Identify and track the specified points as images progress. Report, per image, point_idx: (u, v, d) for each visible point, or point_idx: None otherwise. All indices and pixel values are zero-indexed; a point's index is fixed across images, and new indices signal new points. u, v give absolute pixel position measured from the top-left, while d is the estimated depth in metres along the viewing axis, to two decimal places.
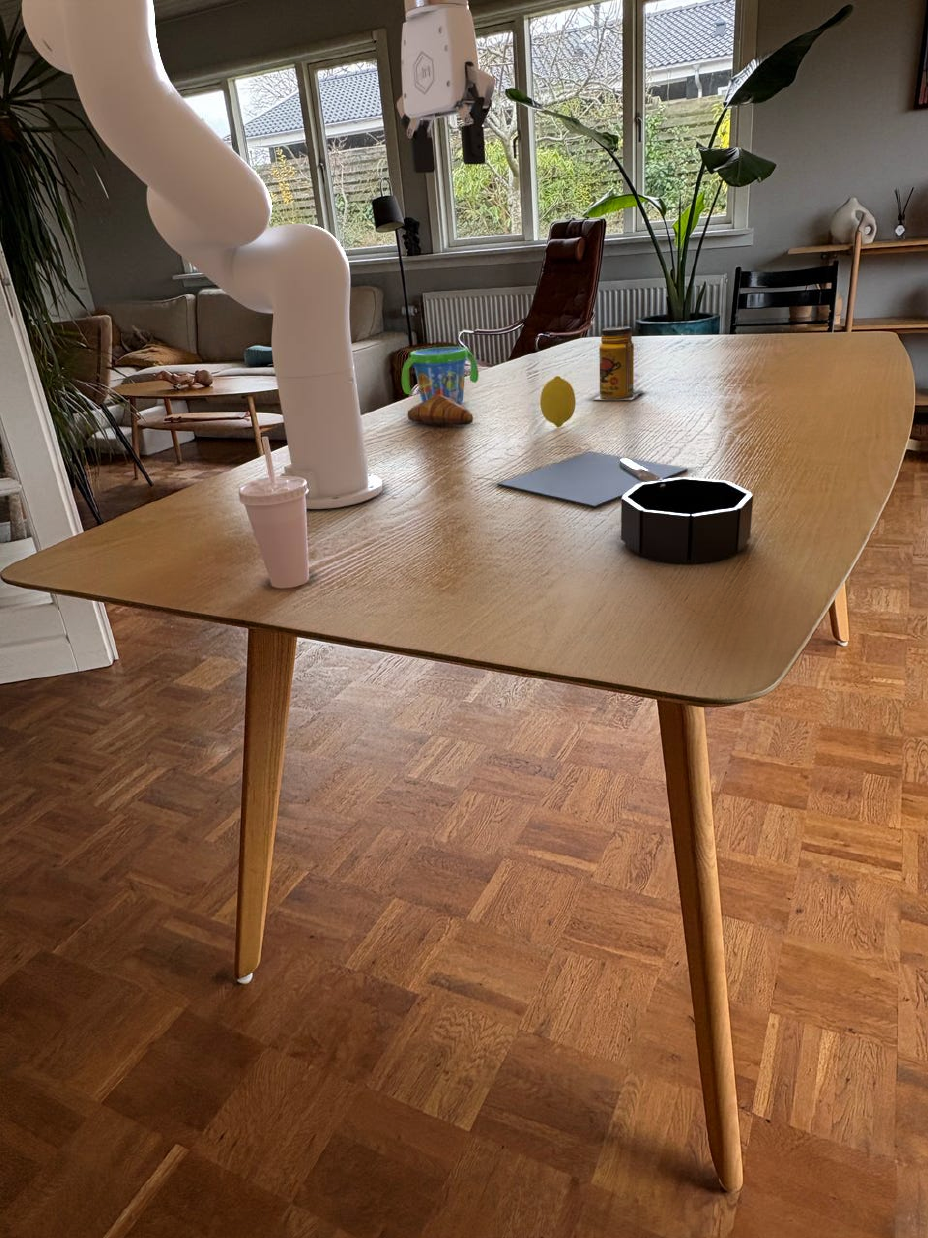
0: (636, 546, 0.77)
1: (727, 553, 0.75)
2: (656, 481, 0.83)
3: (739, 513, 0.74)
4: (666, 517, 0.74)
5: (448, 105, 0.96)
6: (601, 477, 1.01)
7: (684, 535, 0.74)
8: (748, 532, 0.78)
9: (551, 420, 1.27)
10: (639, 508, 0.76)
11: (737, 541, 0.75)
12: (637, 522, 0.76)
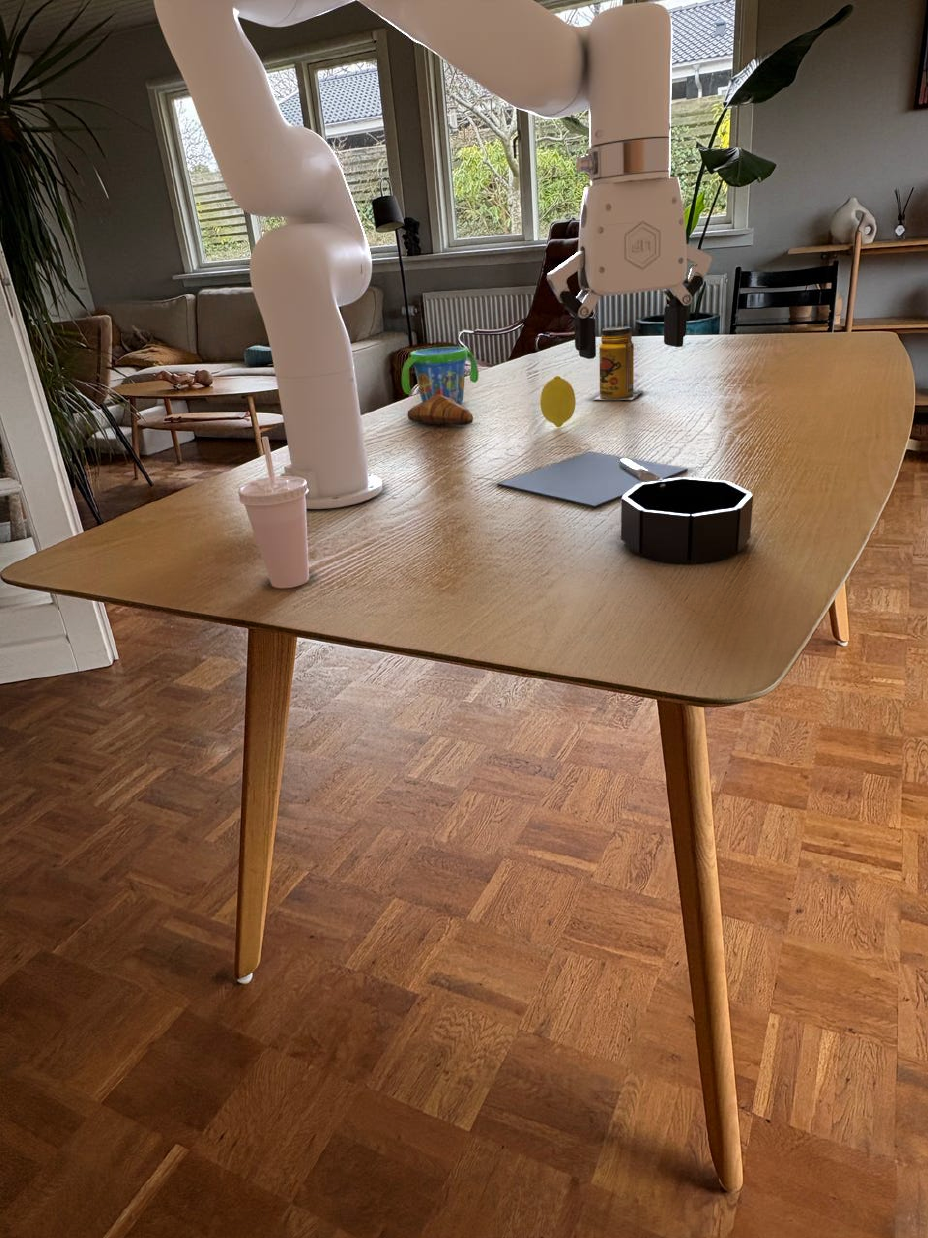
0: (636, 546, 0.77)
1: (727, 553, 0.75)
2: (656, 481, 0.83)
3: (739, 513, 0.74)
4: (666, 517, 0.74)
5: (676, 284, 0.80)
6: (601, 477, 1.01)
7: (684, 535, 0.74)
8: (748, 532, 0.78)
9: (551, 420, 1.27)
10: (639, 508, 0.76)
11: (737, 541, 0.75)
12: (637, 522, 0.76)
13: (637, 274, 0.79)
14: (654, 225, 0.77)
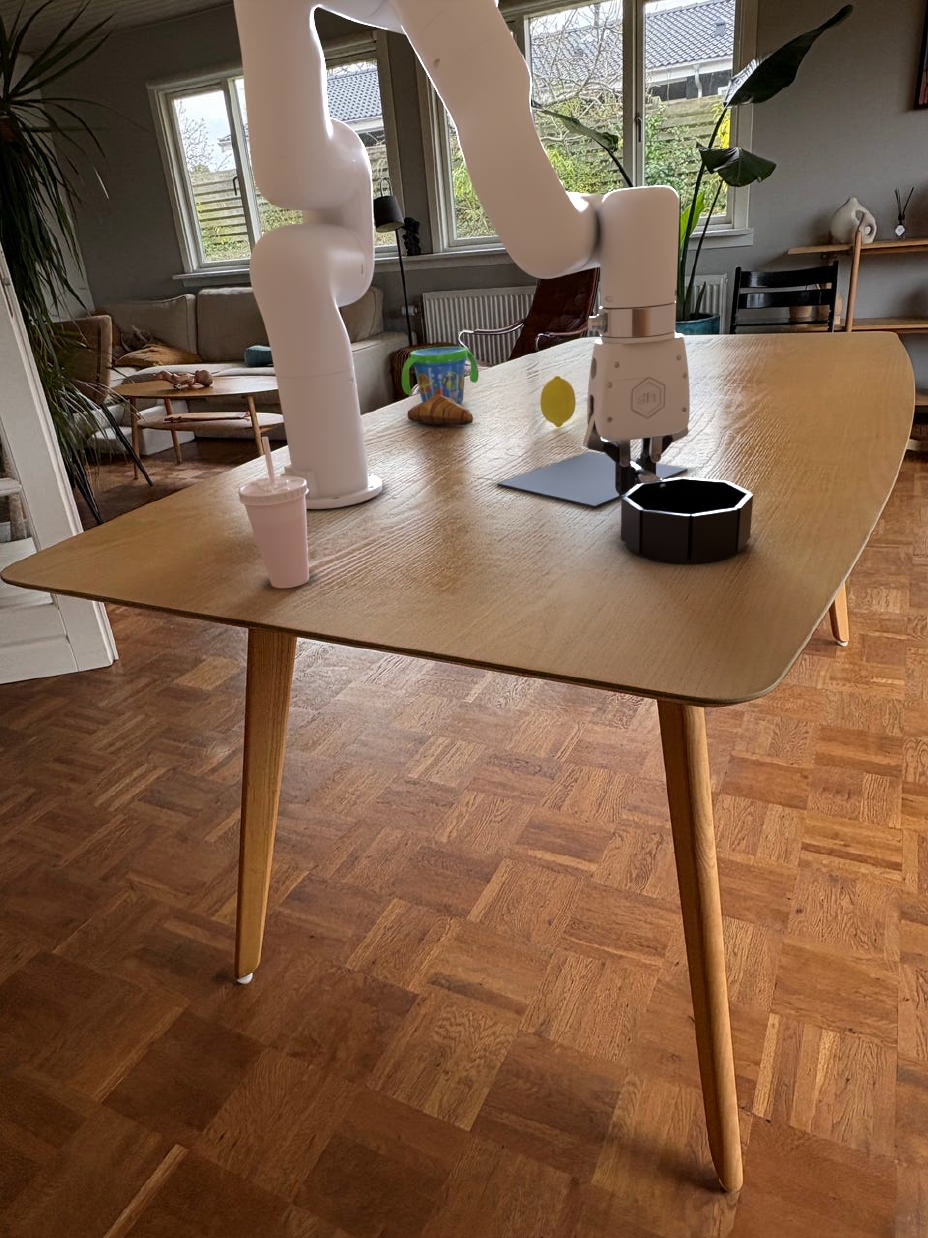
0: (636, 546, 0.77)
1: (727, 553, 0.75)
2: (656, 481, 0.83)
3: (739, 513, 0.74)
4: (666, 516, 0.74)
5: (679, 430, 0.85)
6: (601, 477, 1.01)
7: (684, 534, 0.74)
8: (748, 532, 0.78)
9: (551, 420, 1.27)
10: (639, 508, 0.76)
11: (737, 541, 0.75)
12: (637, 522, 0.76)
13: (643, 423, 0.84)
14: (659, 380, 0.82)
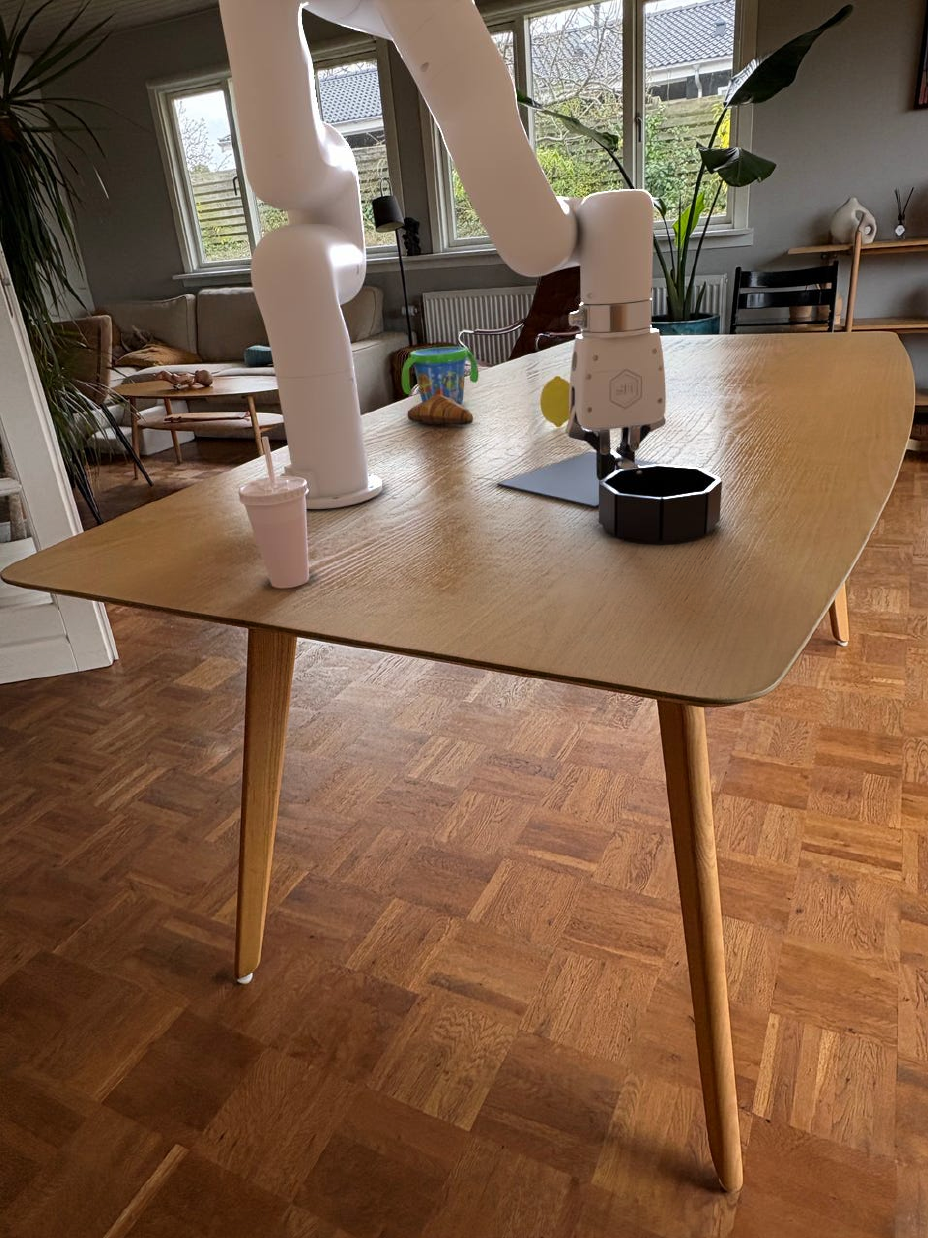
0: (612, 528, 0.82)
1: (696, 534, 0.80)
2: (633, 468, 0.88)
3: (707, 496, 0.79)
4: (638, 499, 0.79)
5: (656, 420, 0.90)
6: None
7: (656, 516, 0.79)
8: (717, 515, 0.83)
9: (551, 420, 1.27)
10: (614, 492, 0.81)
11: (706, 523, 0.80)
12: (612, 505, 0.81)
13: (621, 413, 0.89)
14: (636, 372, 0.87)
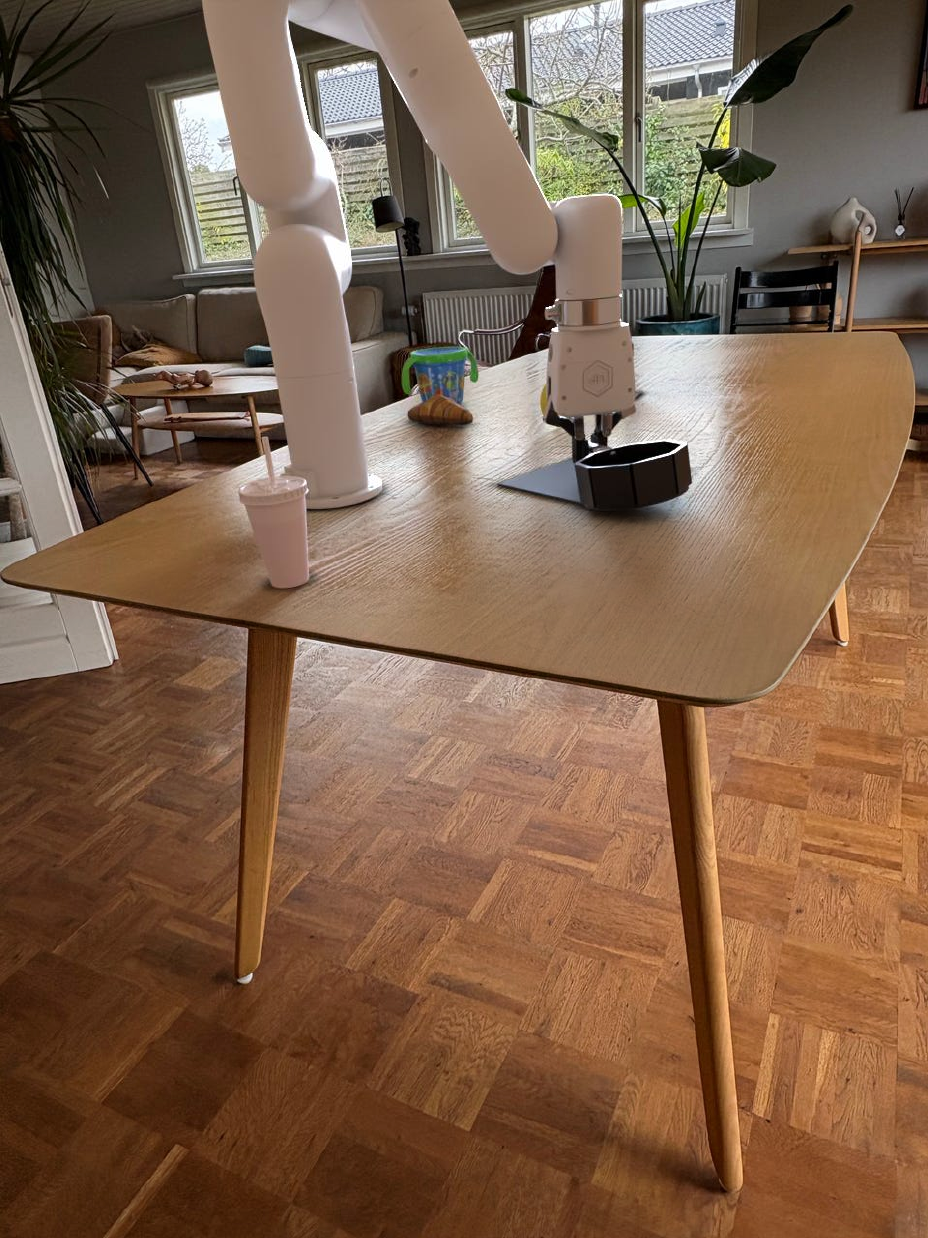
0: (591, 501, 0.88)
1: (669, 494, 0.85)
2: (606, 449, 0.94)
3: (673, 457, 0.84)
4: (610, 469, 0.85)
5: (626, 408, 0.97)
6: None
7: (628, 482, 0.84)
8: (689, 477, 0.88)
9: None
10: (587, 467, 0.87)
11: (677, 483, 0.85)
12: (588, 480, 0.87)
13: (593, 401, 0.96)
14: (607, 363, 0.94)
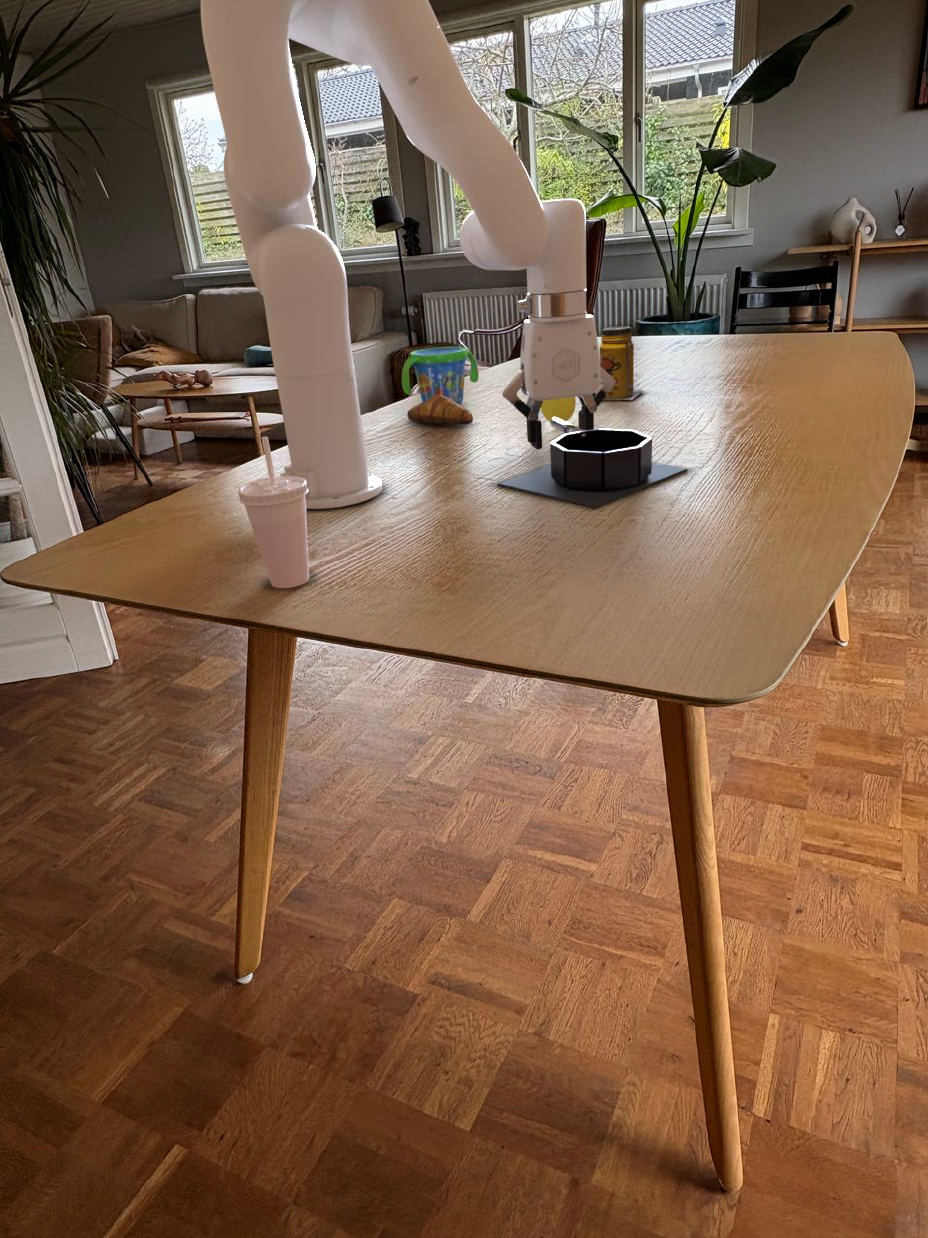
0: (562, 480, 0.98)
1: (632, 483, 0.96)
2: (578, 431, 1.04)
3: (640, 451, 0.95)
4: (583, 454, 0.95)
5: (592, 392, 1.08)
6: None
7: (598, 468, 0.94)
8: (649, 468, 0.99)
9: None
10: (563, 449, 0.96)
11: (639, 473, 0.96)
12: (562, 460, 0.97)
13: (562, 385, 1.06)
14: (574, 351, 1.05)
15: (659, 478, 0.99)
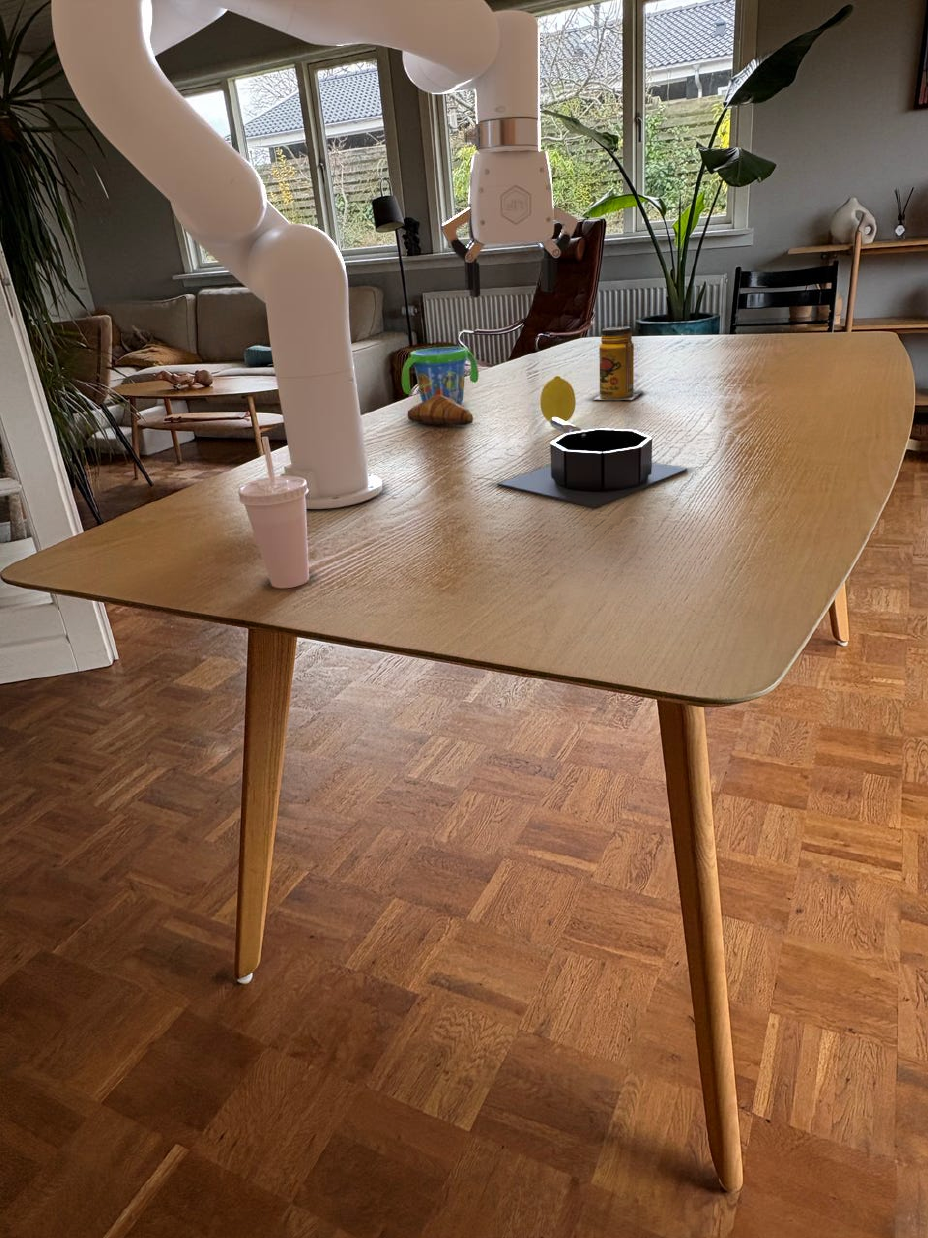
0: (562, 480, 0.98)
1: (632, 483, 0.96)
2: (578, 431, 1.04)
3: (640, 451, 0.95)
4: (583, 454, 0.95)
5: (545, 239, 0.99)
6: None
7: (598, 468, 0.94)
8: (649, 468, 0.99)
9: None
10: (563, 449, 0.96)
11: (639, 473, 0.96)
12: (562, 460, 0.97)
13: (512, 228, 0.98)
14: (525, 189, 0.97)
15: (659, 478, 0.99)
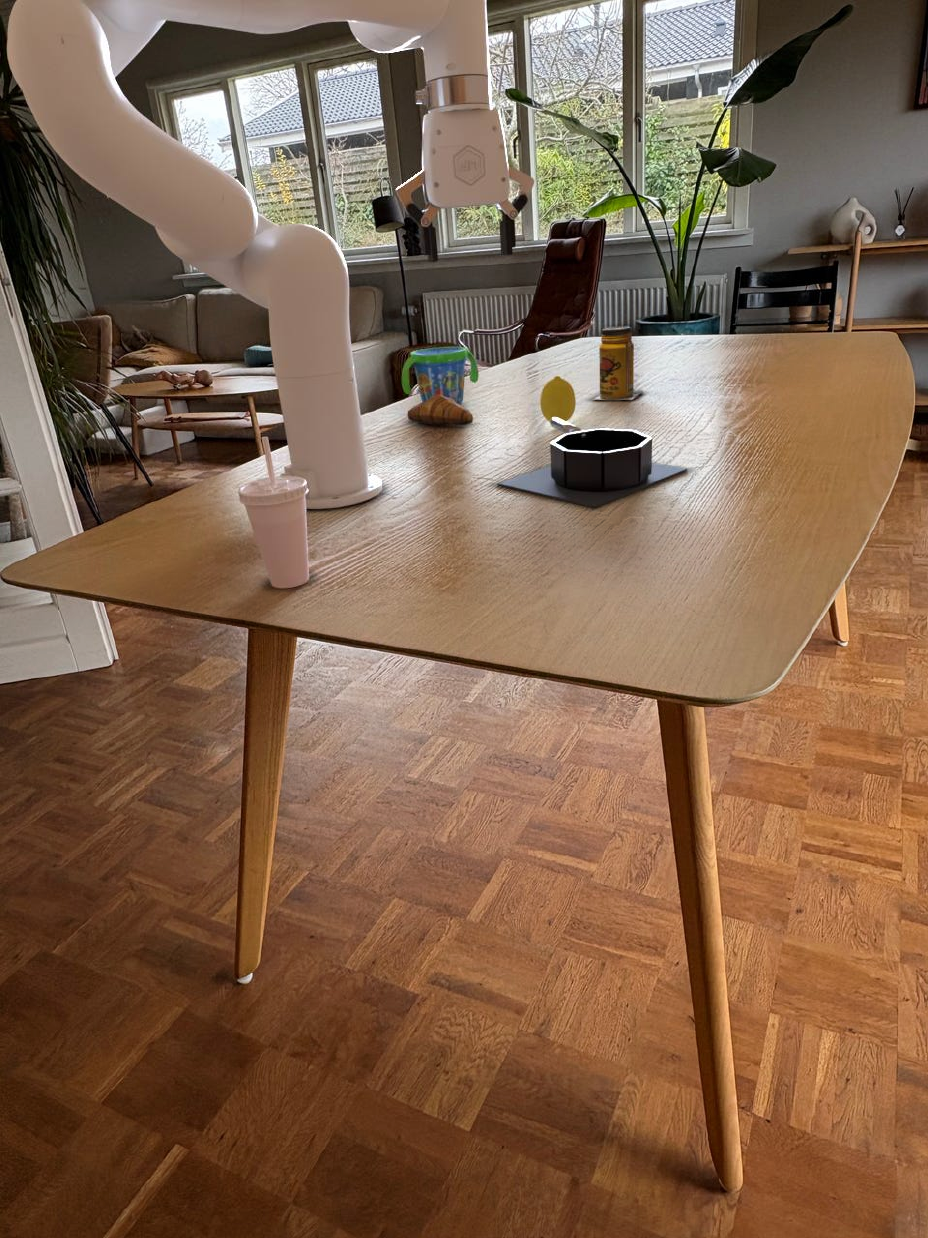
0: (562, 480, 0.98)
1: (632, 483, 0.96)
2: (578, 431, 1.04)
3: (640, 451, 0.95)
4: (583, 454, 0.95)
5: (501, 200, 0.98)
6: None
7: (598, 468, 0.94)
8: (649, 468, 0.99)
9: None
10: (563, 449, 0.96)
11: (639, 473, 0.96)
12: (562, 460, 0.97)
13: (466, 189, 0.96)
14: (478, 148, 0.95)
15: (659, 478, 0.99)
